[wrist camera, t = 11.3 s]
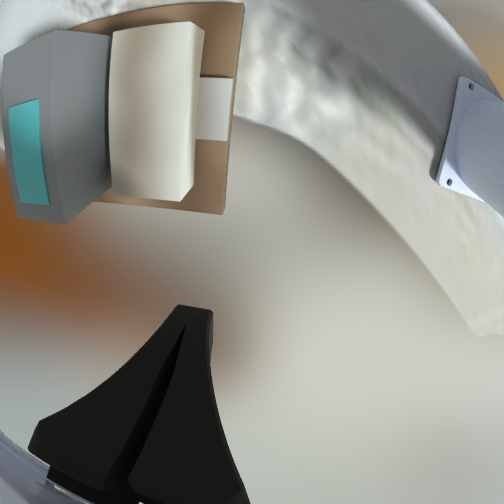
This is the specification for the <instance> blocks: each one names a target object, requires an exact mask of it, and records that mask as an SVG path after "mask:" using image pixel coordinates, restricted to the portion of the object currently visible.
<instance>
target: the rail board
mask: <svg viewBox="0 0 504 504" xmlns="http://www.w3.org/2000/svg"><path fill="white" fill-rule="evenodd" d="M244 11H245V7H244V4H243V3H196V4H182V5H172V6H164V7H157V8H150V9H144V10H139V11H133V12H128V13H124V14H119V15H115V16H111V17H107V18H103V19H100V20H96V21H93V22H89V23H86V24H83V25H80V26H77V27H74V28H71V29H68V30H66V31H76V32H86V33H93V34H100V35H107V36H113V40H112V49H111V61H110V77H109V148H110V164H111V177H112V187H111V188H110V189H109V190H107V191H106V192H105V193H103V194H102V195H101V196H100V197H98V198H97V199H96V200H94V202H107V203H117V204H129V205H139V206H148V207H158V208H167V209H176V210H185V211H194V212H202V213H210V214H219V215H222V214H223V211H224V209H225V199H226V185H227V172H228V160H229V147H230V136H231V125H232V115H233V105H234V95H235V86H236V76H237V67H238V59H239V50H240V42H241V34H242V26H243V19H244Z"/></svg>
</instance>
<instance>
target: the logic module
mask: <svg viewBox="0 0 504 504" xmlns="http://www.w3.org/2000/svg"><path fill="white" fill-rule="evenodd" d="M112 40H113V36H107V35H100V34H93V33H86V32H76V31H65V30H54V31H51V32H49V33H47V34H44V35H42V36H40V37H38V38H36V39H33V40H31V41H29V42H27V43H25V44H23V45H21V46H20V47H18V48H16V49H14V50H12V51H10V52H9V53H7V54H5V55H4V59H3V72H2V120H3V134H4V144H5V152H6V159H7V166H8V173H9V178H10V184H11V188H12V193H13V198H14V202H15V206H16V210H17V214H18V217H19V218H23V219H29V220H38V221H44V222H52V223H59V224H66V223H68V222H69V221H70V220H71V219H72V218H74V217H75V216H76V215H77V214H78V213H80V212H81V211H82V210H83V209H84V208H86V207H87V206H88V205H89V204H91V203H92V202H93V201H94V200H96V199H97V198H98V197H100V196H101V195H102V194H103V193H105V192H106V191H107V190H109V189H110V188H111V187H112V177H111V164H110V148H109V77H110V61H111V49H112Z"/></svg>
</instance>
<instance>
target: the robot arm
mask: <svg viewBox="0 0 504 504" xmlns="http://www.w3.org/2000/svg"><path fill="white" fill-rule="evenodd" d="M469 84H470V85H471V89H469ZM448 179H450V181H449V183H448V184H447V180H448ZM436 181H437V183H438V185H440V186H441V187H444V188H447V189H449V190H452V191H455V192H458V193H461V194H463V195H466V196H469V197H471V198H474V199H476V200H479V201H481V202H484V203H486V204H488V205H490V206H491V207H492V208H493V209H494V210H496V211H497V212H498V213H499V214H500V215H501V216H503V217H504V101H502V100H501V99H500V98H498V97H497V96H495V95H494V94H492V93H491V92H489V91H488V90H486V89H485V88H483V87H482V86H480V85H479V84H477V83H475V82H474V81H472V80H471V79H469V78H467V77H465V76H461V77H459V78H458V83H457V90H456V96H455V102H454V108H453V113H452V118H451V123H450V127H449V132H448V136H447V140H446V144H445V148H444V152H443V156H442V160H441V163H440V167H439V170H438V173H437V177H436ZM212 344H213V312H212V311H211V310H207V309H201V308H196V307H190V306H185V305H177V306H176V307H175V308H174V310H173V311H172V312H171V314H170V315H169V316H168V318H167V319H166V320H165V321H164V322H163V324H162V325H161V326H160V327H159V328H158V330H157V331H156V332H155V333H154V334H153V335H152V336H151V337H150V339H149V340H148V341H147V342H146V343H145V344H144V345H143V347H141V348H140V349H139V351H138V352H137V353H135V354H134V356H132V357H131V359H129V361H128V362H126V363H125V364H124V365H123V366H122V367H121V368H120V369H119V370H118V371H116V372H115V373H114V374H113V375H112V376H111V377H110V378H108V379H107V380H106V381H104V382H103V383H102V384H101V385H99V386H98V387H97V388H95V389H94V390H93V391H91V392H90V393H88V394H87V395H85V396H84V397H82V398H81V399H79V400H77V401H76V402H74V403H73V404H71V405H69V406H68V407H66V408H64V409H62V410H60V411H59V412H56V413H55V414H52V415H50V416H48V417H46V418H44V419H42V420H40V421H39V423H38V425H37V426H36V428H35V430H34V433H33V436H32V438H31V441H30V443H29V446H28V450H29V451H30V452H31V453H32V454H34V455H35V456H36V457H38V458H40V459H41V460H42V461H44V462H46V463H47V464H49V465H50V466H48V465H46V464H45V463H43V462H42V461H40V460H38V459H37V458H35V457H34V456H32V455H31V454H29V453H28V452H27V451H25V450H24V449H22V448H21V447H20V446H18V445H17V444H15V443H14V442H13V441H12V440H10V439H9V438H8V437H6V436H5V435H4V433H3V432H2V431H1V430H0V503H1V504H86V503H85V502H87V503H89V504H139V502H142V503H143V504H250V501H249V498H248V495H247V492H246V489H245V486H244V484H243V481H242V479H241V477H240V475H239V472H238V470H237V467H236V465H235V463H234V460H233V457H232V455H231V452H230V449H229V446H228V444H227V440H226V437H225V434H224V430H223V427H222V424H221V420H220V416H219V412H218V408H217V404H216V399H215V394H214V389H213V383H212V376H211V367H210V360H211V351H212ZM54 485H56V486H57V487H59V488H61V489H62V490H64V491H66V492H68V493H70V494H71V495H70V494H68V493H65V492H63V491H61V490H58V489H56V488H55V487H54ZM80 499H81V500H83V501H85V502H83V501H81V500H80Z"/></svg>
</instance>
